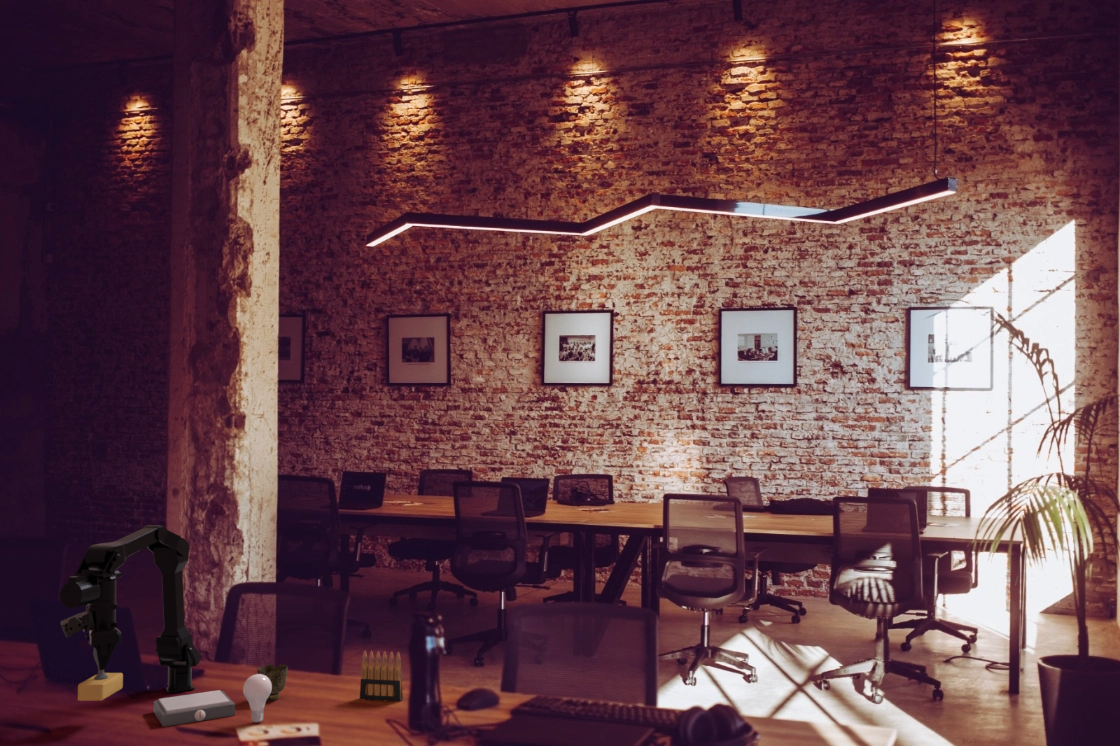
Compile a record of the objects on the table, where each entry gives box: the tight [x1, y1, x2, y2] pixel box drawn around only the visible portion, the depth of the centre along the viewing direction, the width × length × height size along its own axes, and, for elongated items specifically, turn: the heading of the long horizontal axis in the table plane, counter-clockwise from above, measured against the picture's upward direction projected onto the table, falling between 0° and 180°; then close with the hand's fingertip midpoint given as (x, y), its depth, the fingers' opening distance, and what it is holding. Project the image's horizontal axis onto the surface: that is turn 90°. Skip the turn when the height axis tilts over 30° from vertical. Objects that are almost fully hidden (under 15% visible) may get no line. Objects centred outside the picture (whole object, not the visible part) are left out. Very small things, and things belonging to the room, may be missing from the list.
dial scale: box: [153, 689, 236, 728], centre depth 227 cm, size 14×16×3 cm
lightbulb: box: [242, 673, 272, 724], centre depth 220 cm, size 6×6×11 cm
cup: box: [256, 663, 289, 702], centre depth 239 cm, size 8×7×8 cm
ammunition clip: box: [359, 650, 403, 703], centre depth 238 cm, size 11×2×12 cm, turn 80°
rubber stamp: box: [77, 647, 124, 702], centre depth 219 cm, size 10×6×12 cm, turn 179°
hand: (101, 668), depth 219 cm, fingers closed on rubber stamp, 3 cm apart
